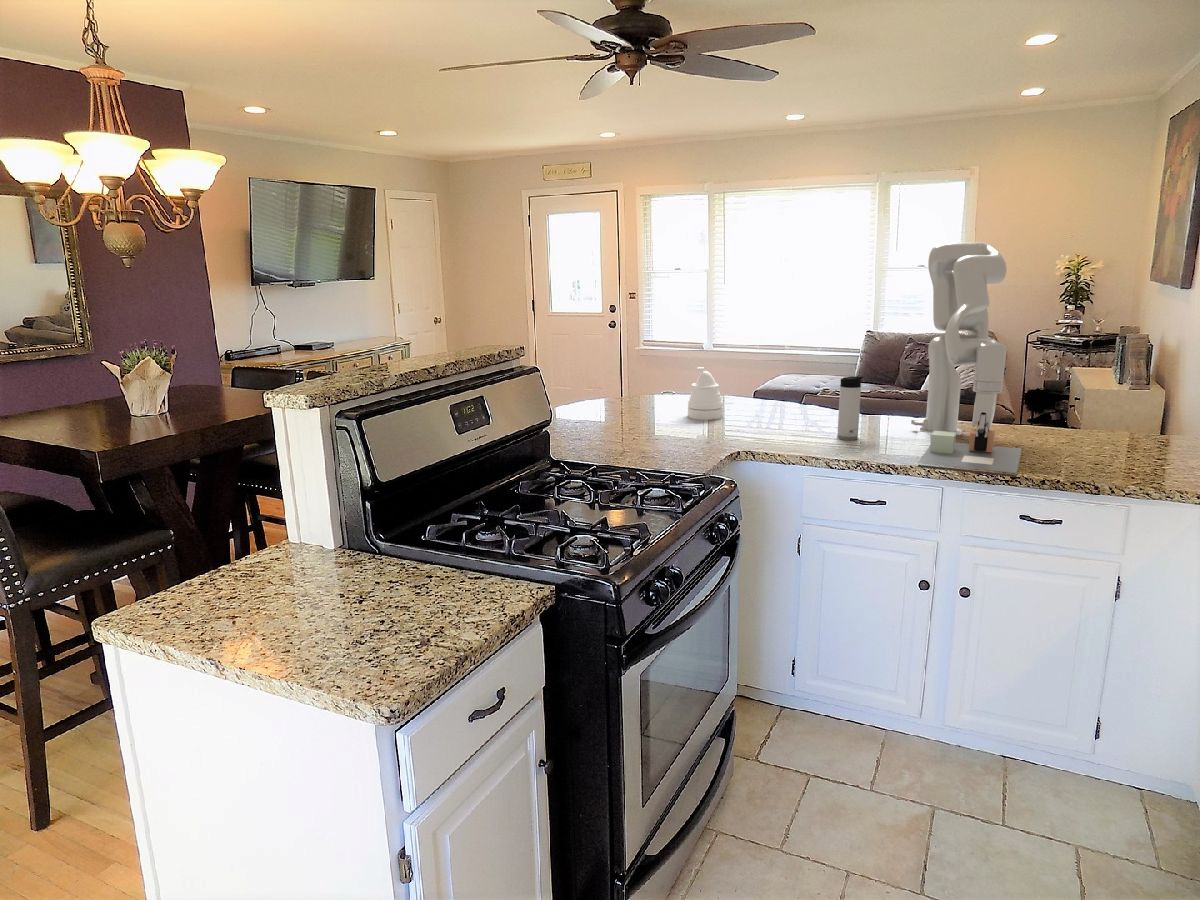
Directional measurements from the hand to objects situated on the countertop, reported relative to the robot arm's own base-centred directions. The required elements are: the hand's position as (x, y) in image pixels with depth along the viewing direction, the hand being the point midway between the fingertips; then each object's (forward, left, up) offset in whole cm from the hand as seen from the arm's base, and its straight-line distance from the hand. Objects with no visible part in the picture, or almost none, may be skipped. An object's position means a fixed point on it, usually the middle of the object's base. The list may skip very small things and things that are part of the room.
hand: (981, 447), depth 227 cm
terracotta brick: (0, 0, 0) cm, 0 cm away
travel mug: (-39, +6, -2) cm, 39 cm away
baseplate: (-2, -7, -2) cm, 8 cm away
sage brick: (-10, -4, -1) cm, 11 cm away
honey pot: (-94, +21, -2) cm, 96 cm away
